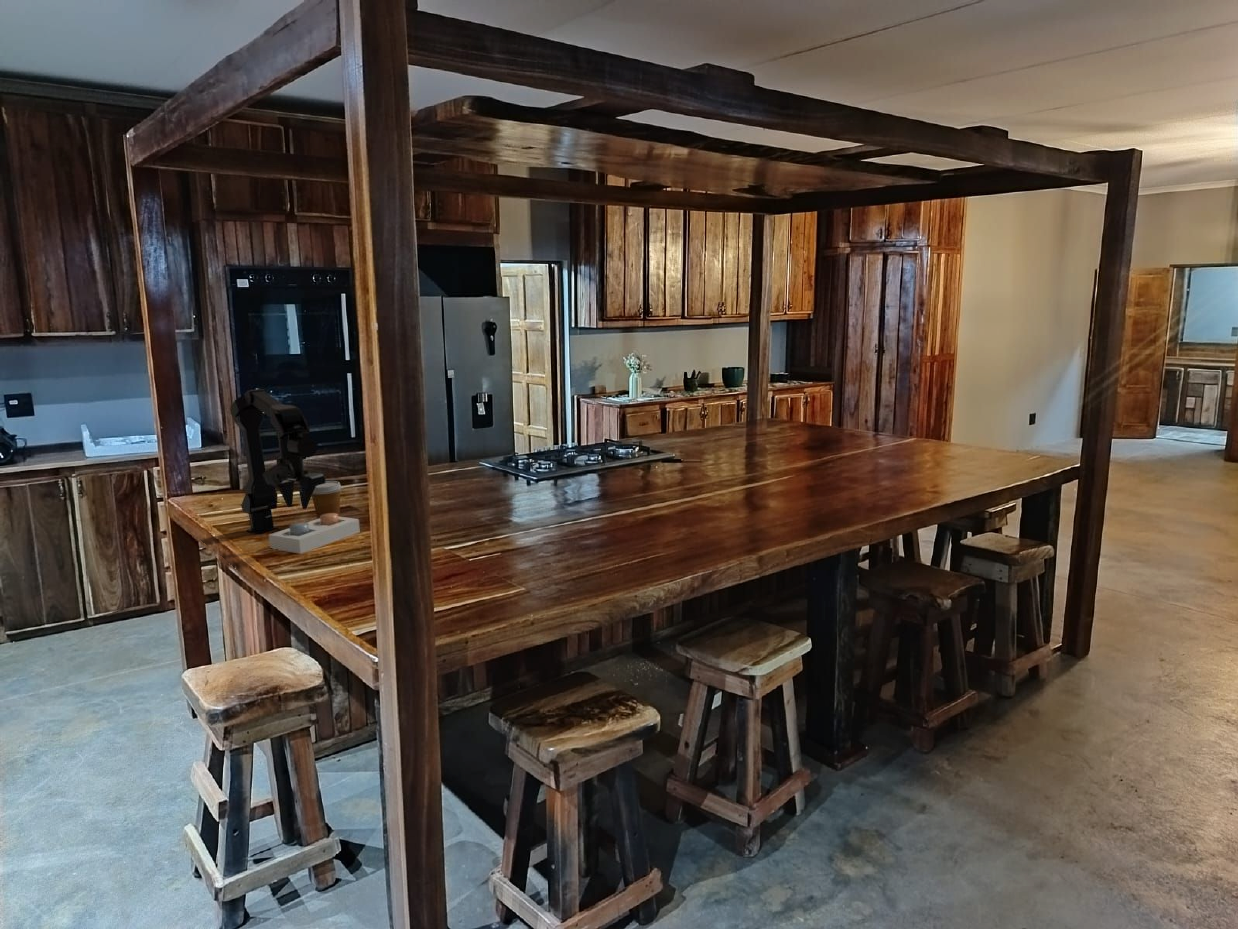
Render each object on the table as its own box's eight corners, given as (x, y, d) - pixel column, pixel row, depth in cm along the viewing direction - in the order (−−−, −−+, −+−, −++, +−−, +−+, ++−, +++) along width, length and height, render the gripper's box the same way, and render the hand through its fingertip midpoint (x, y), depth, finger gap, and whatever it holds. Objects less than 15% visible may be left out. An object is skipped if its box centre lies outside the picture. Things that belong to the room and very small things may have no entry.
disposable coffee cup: (311, 527, 255) (307, 489, 252) (313, 519, 263) (309, 482, 261) (344, 524, 257) (340, 486, 255) (345, 516, 266) (341, 479, 264)
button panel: (270, 548, 234) (268, 534, 233) (330, 527, 253) (329, 515, 252) (300, 553, 229) (299, 539, 228) (359, 532, 248) (358, 519, 247)
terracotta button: (317, 526, 244) (316, 516, 243) (330, 522, 248) (329, 512, 248) (329, 528, 242) (328, 518, 241) (342, 523, 246) (341, 514, 245)
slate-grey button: (286, 536, 235) (285, 526, 234) (300, 532, 239) (299, 521, 238) (299, 538, 232) (298, 528, 232) (313, 533, 237) (312, 523, 236)
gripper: (243, 456, 228) (250, 511, 231) (291, 461, 219) (297, 518, 223) (276, 448, 238) (282, 502, 241) (324, 453, 229) (329, 508, 232)
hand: (297, 507), depth 234 cm, fingers open, 6 cm apart
